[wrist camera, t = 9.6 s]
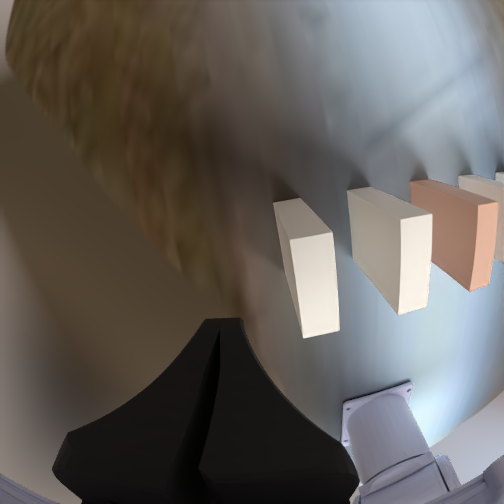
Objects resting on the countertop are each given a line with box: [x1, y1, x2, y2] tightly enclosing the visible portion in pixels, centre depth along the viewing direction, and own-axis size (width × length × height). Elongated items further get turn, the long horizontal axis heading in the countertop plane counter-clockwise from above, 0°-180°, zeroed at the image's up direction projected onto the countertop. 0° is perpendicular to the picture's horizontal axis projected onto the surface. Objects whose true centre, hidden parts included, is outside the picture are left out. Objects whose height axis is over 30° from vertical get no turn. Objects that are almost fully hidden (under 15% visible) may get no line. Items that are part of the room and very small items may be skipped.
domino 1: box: [273, 198, 340, 338], centre depth 16 cm, size 2×5×8 cm, turn 11°
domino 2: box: [347, 187, 432, 315], centre depth 16 cm, size 2×5×8 cm, turn 11°
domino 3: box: [410, 179, 498, 292], centre depth 16 cm, size 2×5×8 cm, turn 11°
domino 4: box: [458, 175, 504, 263], centre depth 15 cm, size 2×5×8 cm, turn 11°
